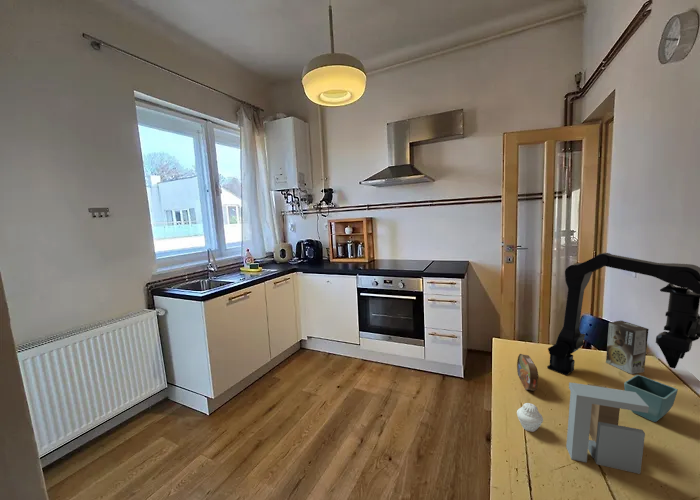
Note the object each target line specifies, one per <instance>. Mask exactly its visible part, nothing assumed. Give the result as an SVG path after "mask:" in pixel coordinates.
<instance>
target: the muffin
mask: <svg viewBox="0 0 700 500" xmlns="http://www.w3.org/2000/svg"><path fill="white" fill-rule="evenodd" d="M516 416H517V419H518V420H519V422H520V426H521V427H522V428H523V429H524V430H525V431H527V432H531V433H532V432H536V431H537V430H538V429H539V428H540V426H542V424H543V421H544V417H543V416H542V414H541V413H540V412H539V410H538V407H537V406H536V405H535V404H533V403H529V402H526V403H523V405H522V406H521V407H519V408H518V409H517V411H516Z"/></svg>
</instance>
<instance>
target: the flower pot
mask: <svg viewBox="0 0 700 500" xmlns="http://www.w3.org/2000/svg"><path fill="white" fill-rule="evenodd" d="M623 384H624V391H631V392H636V393H637V394H638V395H639V396H640V397H641V399H642V400H643V401H644V402H645V403H646V404H647V405H648V406H649V410H648V413H645V412H639V411H633V410H630V411H631V412H632V413H634V414H635V415H638V416H640V417H642V418H645V419H646V420H649V421H651V422H653V423H656V422H658V421H659V420H661V419H662V418H663V417H664V416H665V415H666V414H668V413H669V412H670V410H671V409H672V408H673V406H674V403H675V401H676V396H677V394H678V390H679V389H677V388H675V387H673V386H671V385H667V384H664V383H661V382H659V381H656V380H654V379H651V378H648V377H646V376H643V375H640V374H635V375H634V376H633V377H631V378H630V379H628V380H626V381H624V383H623Z"/></svg>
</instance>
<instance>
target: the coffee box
mask: <svg viewBox="0 0 700 500" xmlns="http://www.w3.org/2000/svg"><path fill="white" fill-rule="evenodd" d="M649 330H650V329H649V328H647V327H644V326H640V325H637V324H634V323H631V322H628V321H624V320H615V321H611V322H610V321H609V322H608V332H607V345H606V355H605V357H606V358H605V363H606V364H609V365H610V366H612V367H615V368H617V369H619V370H622V371H624V372H626V373H628V374H631V375H636V374H641V373H644V372H645V367H646V356H647V347H648V339H649V338H648V337H649Z"/></svg>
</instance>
